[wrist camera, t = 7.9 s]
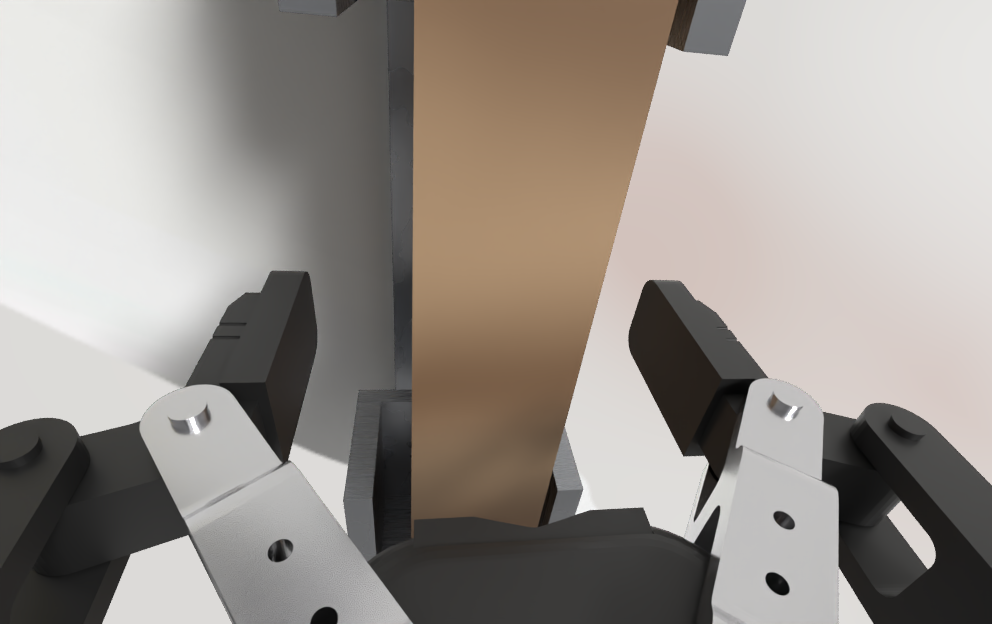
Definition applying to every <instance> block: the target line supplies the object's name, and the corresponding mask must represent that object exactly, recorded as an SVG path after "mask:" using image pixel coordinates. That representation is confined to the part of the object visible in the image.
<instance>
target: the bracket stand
mask: <svg viewBox="0 0 992 624" xmlns="http://www.w3.org/2000/svg"><path fill="white" fill-rule="evenodd" d="M356 1H357V0H278V3H279V10H280V11H282V12H292V13H302V14H312V15H322V16H332V17H337V16H339V15H340V14H341V13H342V12H344V11H345V10H346V9H347V8H348V7H350V6H351V5H352V4H353V3H355V2H356ZM745 2H746V0H678V4H677V8H676V11H675V15H674V19H673V23H672V26H671V30H670V34H669V38H668V41H667V45H668V46H671V47H673V48H676V49H678V50H681V51H684V52H693V53H704V54H714V55H724V56H728V54H729V51H730V48H731V45H732V42H733V38H734V36H735V33H736V30H737V27H738V24H739V21H740V18H741V15H742V12H743V9H744V6H745ZM387 21H388V66H389V110H390V155H391V200H392V244H393V289H394V333H395V378H396V390H359V394H358V401H357V408H356V415H355V422H354V429H353V436H352V443H351V450H350V457H349V464H348V471H347V478H346V486H345V492H344V499H343V502H344V509H345V517H346V525H347V531H348V537H349V538H350V539H351V541H352V542H353V543H354V545H355V546H356V547H357V549H358V550H359V552H360V553H361V554H362V556H363V557H364V558H365V560H366V561H369V560H370V559H371V558H372V557H374V556H376V555H377V554H379V553H381V552H382V551H384V550H386V549H387V548H390V547H392V546H394V545H396V544H398V543H401V542H403V541H406V540H409V539H411V463H412V290H413V117H414V0H387ZM582 492H583V487H582V484H581V480H580V477H579V474H578V470H577V467H576V464H575V461H574V457H573V454H572V450H571V447H570V443H569V440H568V437H567V433H566V430H565V427H564V430H563V434H562V438H561V441H560V445H559V449H558V453H557V456H556V460H555V464H554V467H553V471H552V475H551V479H550V482H549V486H548V490H547V494H546V497H545V501H544V505H543V509H542V512H541V516H540V520H539V524H538V527H541V526H544V525H547V524H550V523H553V522H556V521H559V520H562V519H565V518H568V517H571V516H574V515H575V513H576V510H577V507H578V504H579V501H580V498H581V495H582Z"/></svg>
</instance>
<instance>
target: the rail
mask: <svg viewBox="0 0 992 624" xmlns="http://www.w3.org/2000/svg"><path fill="white" fill-rule="evenodd" d="M677 4H678V0H414V117H413V290H412V463H411V539H412V538H414V520H417V519H436V518H455V517H479V518H484V519H489V520H494V521H500V522H505V523H510V524H515V525H521V526H526V527H533V528H534V527H538V524H539V520H540V516H541V512H542V509H543V505H544V501H545V497H546V494H547V490H548V486H549V482H550V479H551V475H552V471H553V467H554V464H555V460H556V456H557V453H558V449H559V445H560V441H561V438H562V434H563V430H564V426H565V423H566V419H567V415H568V411H569V408H570V404H571V400H572V396H573V393H574V389H575V385H576V381H577V378H578V374H579V370H580V366H581V362H582V359H583V355H584V351H585V348H586V344H587V340H588V336H589V333H590V329H591V325H592V322H593V318H594V314H595V310H596V307H597V303H598V299H599V295H600V292H601V288H602V284H603V281H604V277H605V273H606V269H607V266H608V262H609V258H610V254H611V251H612V247H613V243H614V239H615V236H616V232H617V228H618V224H619V221H620V217H621V213H622V210H623V206H624V202H625V198H626V195H627V191H628V187H629V183H630V180H631V176H632V172H633V168H634V165H635V160H636V157H637V153H638V150H639V146H640V142H641V138H642V135H643V131H644V127H645V124H646V120H647V116H648V112H649V109H650V105H651V101H652V97H653V93H654V90H655V86H656V82H657V79H658V75H659V71H660V68H661V64H662V60H663V56H664V53H665V49H666V45H667V41H668V38H669V34H670V30H671V26H672V23H673V19H674V15H675V11H676V8H677Z"/></svg>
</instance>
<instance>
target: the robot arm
mask: <svg viewBox="0 0 992 624" xmlns="http://www.w3.org/2000/svg"><path fill="white" fill-rule="evenodd" d="M316 348H317V324H316V317H315V310H314V303H313V295H312V288H311V281H310V276H309V274H308V272H304V271H271V272H270V274H269V276H268V278H267V280H266V283H265V285H264V287H263V289H262V291H261V293H245V294H244V295H242V296H241V297H240V298H238V299H237V300H236V301H235V302H233V303H232V304H231V305H229V306H228V308H227V310H226V311H225V313H224V315H223V317H222V319H221V321H220V326H217V328H216V330H215V332H214V334H213V339H210V341H209V343H208V345H207V347H206V349H205V351H204V353H203V354H202V356H201V358H200V360H199V362H198V364H197V366H196V367H195V369H194V371H193V373H192V375H191V377H190V379H189V381H188V382H187V384H186V386H185V387H184V388H181V389H178V390H175V391H173V392H171V393H169V394H167V395H165V396H163V397H162V398H160V399H159V400H157V401H156V402H154V403H153V404H152V405H151V406H150V407H149V408H148V409H147V411H146V412H145V413H144V415H143V417H142V419H141V421H139V422H137V423H133V424H130V425H126V426H122V427H118V428H114V429H109V430H106V431H102V432H97V433H93V434H88V435H84V436H79V434H78V432H77V431H76V429H75V427H74V426H73V425H72V424H70V423H69V422H67V421H64V420H61V419H56V418H40V419H33V420H28V421H23V422H20V423H17V424H14V425H11V426H8V427H6V428H3V429H1V430H0V624H102V622H103V619H104V617H105V615H106V613H107V610H108V608H109V605H110V603H111V600H112V598H113V595H114V593H115V590H116V588H117V586H118V583H119V581H120V578H121V576H122V573H123V571H124V569H125V566H126V564H127V562H128V559H129V557H130V554H132V553H135V552H138V551H141V550H144V549H147V548H150V547H153V546H156V545H159V544H162V543H165V542H168V541H171V540H174V539H177V538H180V537H183V536H187V535H189V537H190V539H191V541H192V543H193V545H194V547H195V549H196V551H197V553H198V555H199V557H200V559H201V561H202V563H203V565H204V567H205V570H206V571H207V574H208V575H209V578H210V580H211V582H212V583H213V586H214V588H215V590H216V592H217V594H218V596H219V598H220V599H221V602H222V604H223V606H224V608H225V609H226V612H227V614H228V616H229V618H230V620H231V622H232V624H838V566H839V568H840V570H841V571H842V573H843V575H844V576H845V578H846V579H847V581H848V583H849V584H850V586H851V588H852V589H853V591H854V592H855V594H856V596H857V597H858V599H859V601H860V602H861V604H862V605H863V607H864V609H865V610H866V612H867V614H868V615H869V617H870V619H871V620H872V622H873V623H874V624H992V485H991V484H990V483H989V482H988V481H987V480H986V479H985V478H984V477H983V476H982V475H981V474H980V473H979V472H978V471H977V470H976V469H975V468H974V467H973V466H972V465H971V464H970V463H969V462H968V461H967V460H966V459H965V458H964V457H963V456H962V455H961V454H960V453H959V452H958V451H957V450H956V449H955V448H954V447H953V446H952V445H951V444H950V443H949V442H948V441H947V440H946V439H945V438H944V437H943V436H942V435H941V434H940V433H939V432H938V431H937V430H936V429H935V428H934V427H933V426H932V425H930V424H929V423H928V422H927V421H925V420H924V419H922V418H921V417H919V416H917V415H915V414H914V413H912V412H910V411H907V410H906V409H903V408H900V407H898V406H894V405H890V404H885V403H874V404H870V405H868V406H867V407H866V408H865V410H864V411H863V412H862V413H861V415H860V416H859V417H858V419H852V418H848V417H843V416H839V415H835V414H830V413H826V412H822V409H821V408H820V406H819V405H818V403H817V402H816V401H815V400H814V399H813V398H812V397H811V396H810V395H808V394H807V393H806V392H804V391H803V390H801V389H800V388H798V387H796V386H794V385H792V384H790V383H787V382H784V381H781V380H777V379H770V378H768V377H767V376H766V374H765V373H764V372H763V371H762V369H761V368H760V367H759V366H758V364H757V363H756V362H755V361H754V359H753V358H752V357H751V356H750V355H749V353H748V352H747V351H746V349H745V348H744V347H743V346H742V344H741V343H740V342H739V341H737V338H736V337H735V336H734V335H733V333H732V332H731V331H730V330H728V329H727V326H726V324H725V323H724V322H723V321H722V320H721V318H720V317H719V316H718V315H717V313H716V312H714V311H713V310H711V309H710V308H709V307H707V306H706V305H704V304H703V303H701V302H700V301H696V300H695V299H694V298H693V296H692V295H691V294H690V292H689V291H688V290H687V288H686V287H685V286H684V284H682V282H680V281H672V280H671V281H669V280H649V281H647V282H646V284H645V285H644V287H643V290H642V293H641V296H640V299H639V302H638V305H637V308H636V311H635V315H634V318H633V320H632V324H631V327H630V330H629V348H630V352H631V355H632V356H633V359H634V360H635V362H636V364H637V366H638V368H639V370H640V372H641V374H642V376H643V378H644V380H645V382H646V384H647V386H648V388H649V390H650V392H651V394H652V396H653V398H654V400H655V402H656V403H657V405H658V407H659V409H660V411H661V413H662V415H663V417H664V419H665V421H666V423H667V425H668V427H669V429H670V431H671V433H672V435H673V437H674V438H675V441H676V443H677V445H678V446H679V448H680V450H681V452H682V454H683V456H705V457H706V459H707V460H708V463H707V465H706V467H705V469H704V471H703V473H702V477H701V480H700V484H699V487H698V491H697V494H696V498H695V501H694V505H693V509H692V512H691V515H690V519H689V522H688V526H687V529H686V533H685V535H684V538H683V537H680V536H678V535H676V534H673V533H671V532H669V531H666V530H663V529H659V528H656V527H652V526H650V524H649V521H648V519H647V516H646V514H645V511H644V509H643V508H626V509H625V508H624V509H607V510H589V511H586V512H583V513H580V514H577V515H574V516H571V517H568V518H565V519H562V520H559V521H556V522H553V523H550V524H547V525H544V526H541V527H534V528H533V527H526V526H521V525H515V524H510V523H505V522H500V521H494V520H489V519H484V518H479V517H455V518H436V519H417V520H414V538H412V539H409V540H406V541H403V542H401V543H398V544H396V545H394V546H392V547H390V548H387V549H386V550H384V551H382V552H381V553H379V554H377V555H376V556H374V557H372V558H371V559H370V560H369V561H366V560H365V558H364V557H363V556H362V554H361V553H360V552H359V550H358V549H357V547H356V546H355V545H354V543H353V542H352V541H351V539H350V538H349V537H348V535H347V534H346V533H345V531H344V530H343V529H342V527H341V526H340V524H339V523H338V522H337V521H336V519H335V518H334V516H333V515H332V514H331V512H330V511H329V510H328V509H327V507H326V506H325V504H324V503H323V501H322V500H321V499H320V497H319V496H318V495H317V493H316V492H315V491H314V489H313V488H312V487H311V485H310V484H309V482H308V481H307V480H306V478H305V477H304V476H303V474H302V473H301V472H300V470H299V469H298V468H297V467H296V466H295V464H293V463H292V462H291V461H288V458H289V454H290V450H291V446H292V442H293V439H294V435H295V431H296V427H297V423H298V419H299V416H300V412H301V408H302V404H303V400H304V396H305V392H306V389H307V385H308V381H309V377H310V373H311V369H312V366H313V362H314V358H315V354H316ZM900 501H902V502H903V503H904V505H905V506H906V507H907V509H908V510H909V511H910V512H911V514H912V515H913V516H914V517H915V519H916V520H917V521H918V522H919V523H920V525H921V526H922V527H923V529H924V530H925V531H926V532H927V534H928V535H929V536H930V538H931V540H932V542H933V544H934V547H935V551H936V559H935V562H934V564H933V566H932V567H931V568H929V569H927V568H926V567H925V565H924V564H923V563H922V561H921V560H920V559H919V557H918V556H917V555H916V553H915V552H914V551H913V549H912V548H911V547H910V546H909V544H908V543H907V541H906V540H905V539H904V538H903V536H902V535H901V534H900V532H899V531H898V530H897V528H896V527H895V526H894V525H893V523H892V522H891V520H890V519H889V518H888V516H887V514H888V513H889V512H890V511H891V510H892V509H893V508H894V507H895V506H896V505H897V504H898V503H899V502H900Z"/></svg>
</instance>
